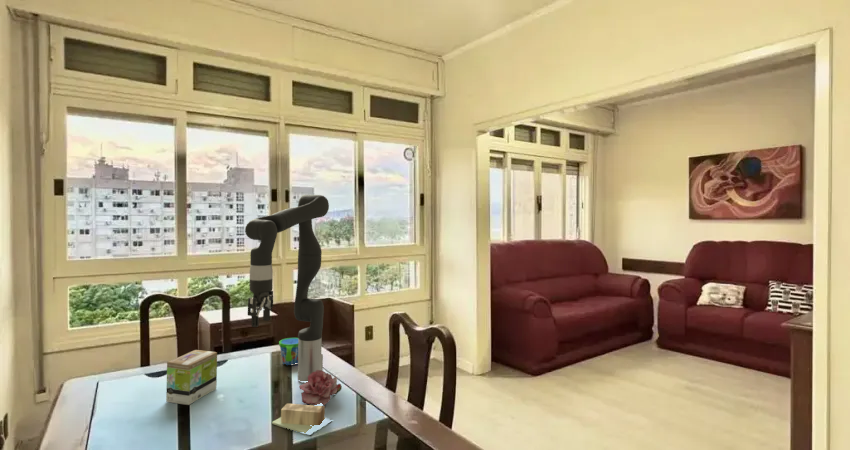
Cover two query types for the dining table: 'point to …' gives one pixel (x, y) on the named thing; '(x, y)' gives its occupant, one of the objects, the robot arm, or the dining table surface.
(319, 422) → the beech block
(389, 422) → the dining table surface
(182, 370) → the tea box
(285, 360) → the snack cup
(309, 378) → the flower
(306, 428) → the felt mat
